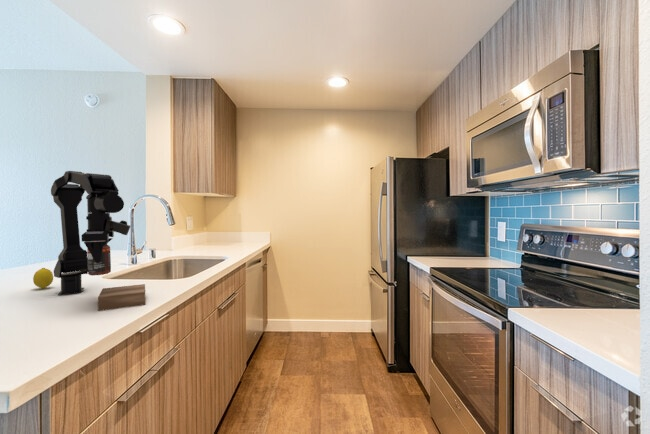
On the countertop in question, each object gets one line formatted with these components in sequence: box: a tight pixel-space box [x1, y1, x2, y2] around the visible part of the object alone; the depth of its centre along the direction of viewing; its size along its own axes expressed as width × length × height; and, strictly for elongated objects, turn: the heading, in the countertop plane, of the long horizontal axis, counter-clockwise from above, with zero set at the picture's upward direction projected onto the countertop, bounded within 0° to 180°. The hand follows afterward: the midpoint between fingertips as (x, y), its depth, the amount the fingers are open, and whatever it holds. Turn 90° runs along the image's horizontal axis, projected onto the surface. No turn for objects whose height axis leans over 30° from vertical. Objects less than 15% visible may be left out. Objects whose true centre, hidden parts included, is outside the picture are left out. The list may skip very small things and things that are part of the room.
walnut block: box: [97, 283, 146, 312], centre depth 98 cm, size 12×12×4 cm
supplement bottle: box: [86, 243, 112, 276], centre depth 97 cm, size 6×6×11 cm
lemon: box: [32, 267, 54, 290], centre depth 114 cm, size 6×6×8 cm
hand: (99, 261), depth 97 cm, fingers closed on supplement bottle, 6 cm apart
